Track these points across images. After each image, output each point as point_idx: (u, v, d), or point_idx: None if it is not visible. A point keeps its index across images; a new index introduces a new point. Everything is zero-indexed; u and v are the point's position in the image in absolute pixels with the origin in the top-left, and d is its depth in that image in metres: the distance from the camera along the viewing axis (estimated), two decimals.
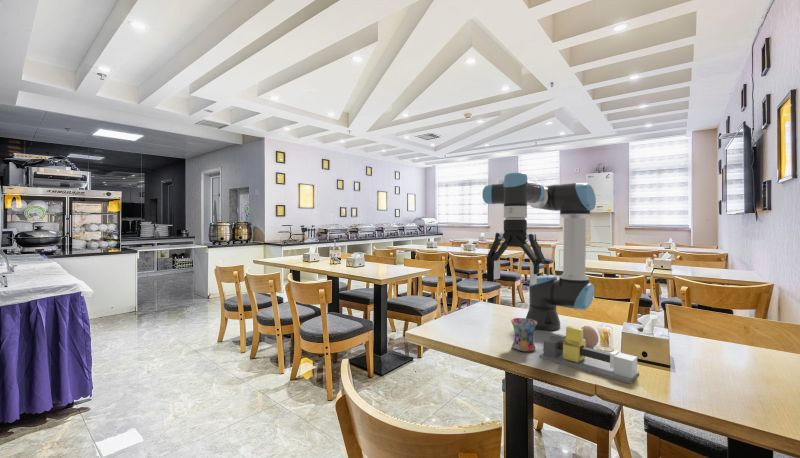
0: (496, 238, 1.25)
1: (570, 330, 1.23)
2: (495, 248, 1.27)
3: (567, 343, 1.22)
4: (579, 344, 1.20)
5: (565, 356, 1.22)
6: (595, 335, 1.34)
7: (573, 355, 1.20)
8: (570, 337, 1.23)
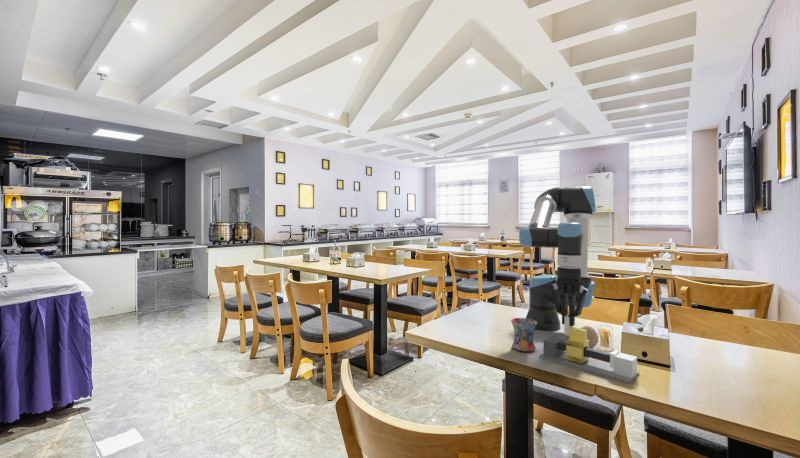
0: (553, 290, 1.27)
1: (573, 331, 1.22)
2: (558, 300, 1.27)
3: (570, 344, 1.21)
4: (583, 345, 1.19)
5: (568, 357, 1.22)
6: (595, 335, 1.34)
7: (577, 356, 1.20)
8: (573, 338, 1.22)
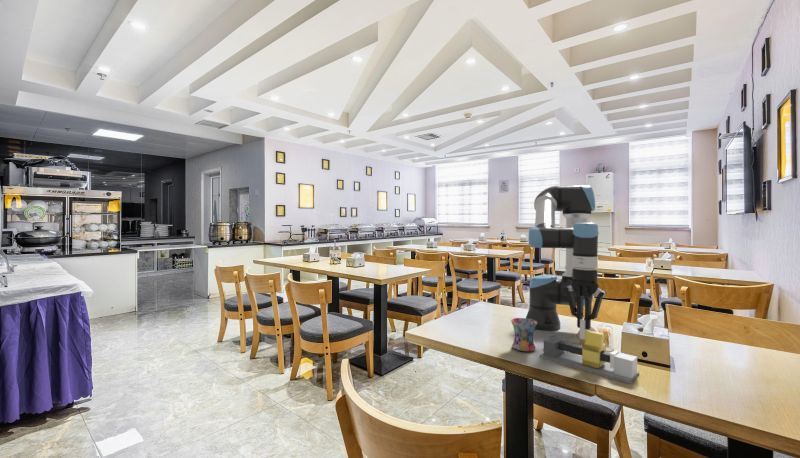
0: (567, 292, 1.23)
1: (589, 334, 1.19)
2: (573, 302, 1.23)
3: (587, 348, 1.17)
4: (599, 349, 1.15)
5: (584, 362, 1.18)
6: None
7: (593, 360, 1.16)
8: (589, 342, 1.19)
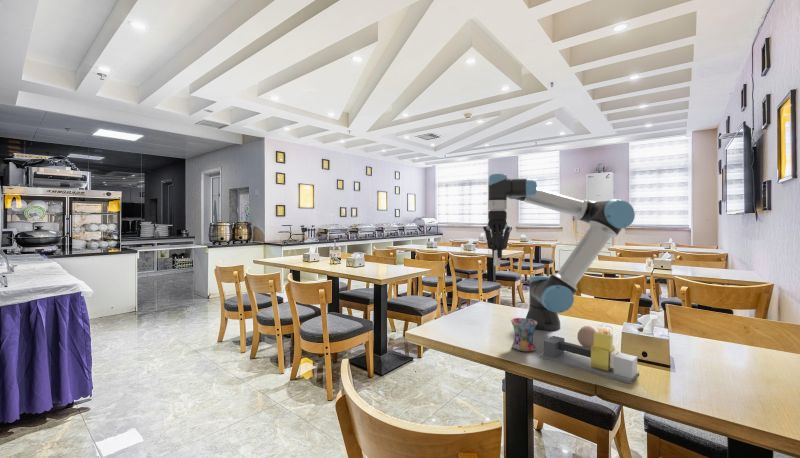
0: (485, 230, 1.55)
1: (598, 336, 1.17)
2: (490, 238, 1.55)
3: (595, 350, 1.15)
4: (609, 351, 1.13)
5: (593, 364, 1.16)
6: None
7: (602, 363, 1.14)
8: (598, 344, 1.17)
